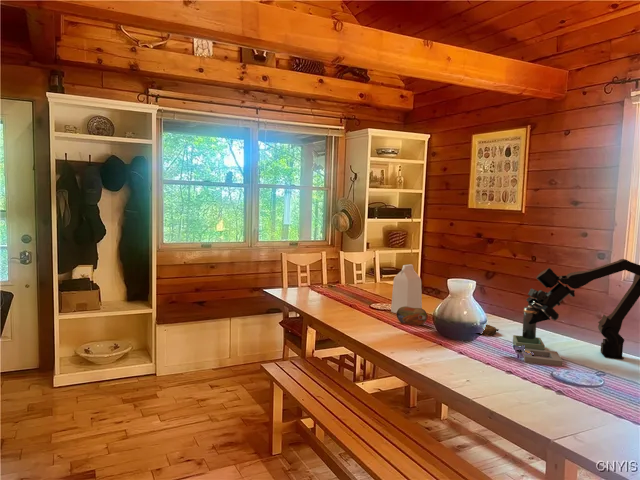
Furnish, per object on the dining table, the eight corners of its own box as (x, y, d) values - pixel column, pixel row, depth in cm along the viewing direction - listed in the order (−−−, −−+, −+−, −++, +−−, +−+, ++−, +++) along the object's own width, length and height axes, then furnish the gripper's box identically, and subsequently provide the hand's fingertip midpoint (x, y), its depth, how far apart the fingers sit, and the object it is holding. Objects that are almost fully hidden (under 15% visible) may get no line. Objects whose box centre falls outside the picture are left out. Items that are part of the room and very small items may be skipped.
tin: (396, 322, 224) (396, 305, 223) (398, 320, 226) (398, 304, 226) (426, 326, 217) (426, 309, 216) (427, 325, 219) (428, 308, 219)
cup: (539, 345, 191) (540, 337, 190) (544, 353, 181) (544, 345, 180) (512, 342, 194) (513, 335, 194) (515, 350, 184) (516, 342, 183)
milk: (406, 316, 235) (408, 267, 232) (390, 311, 244) (392, 264, 242) (422, 313, 242) (423, 265, 239) (406, 308, 251) (407, 262, 249)
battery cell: (536, 336, 188) (537, 305, 186) (535, 340, 183) (537, 308, 182) (522, 334, 190) (524, 304, 189) (521, 337, 186) (523, 306, 184)
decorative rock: (460, 329, 216) (482, 339, 202) (460, 320, 215) (483, 330, 201) (479, 325, 220) (502, 335, 206) (479, 317, 219) (502, 326, 206)
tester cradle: (556, 356, 178) (556, 350, 178) (562, 366, 167) (562, 360, 167) (520, 352, 182) (521, 346, 181) (524, 362, 171) (525, 356, 171)
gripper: (532, 278, 194) (504, 302, 195) (552, 286, 175) (522, 313, 177) (549, 296, 194) (522, 320, 196) (571, 307, 175) (541, 333, 177)
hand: (526, 321), depth 186 cm, fingers closed on battery cell, 5 cm apart
